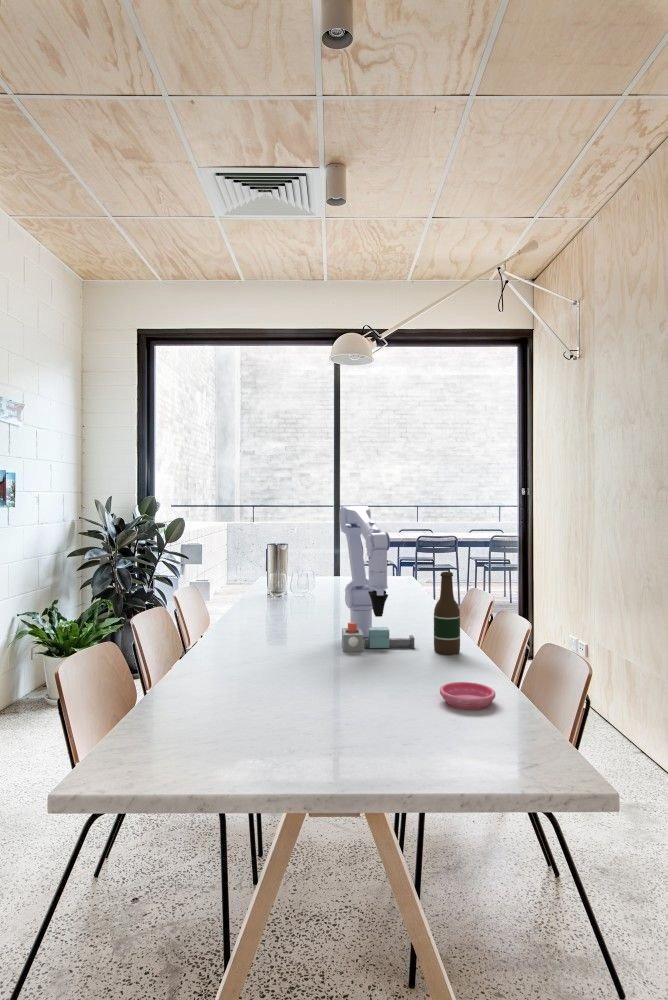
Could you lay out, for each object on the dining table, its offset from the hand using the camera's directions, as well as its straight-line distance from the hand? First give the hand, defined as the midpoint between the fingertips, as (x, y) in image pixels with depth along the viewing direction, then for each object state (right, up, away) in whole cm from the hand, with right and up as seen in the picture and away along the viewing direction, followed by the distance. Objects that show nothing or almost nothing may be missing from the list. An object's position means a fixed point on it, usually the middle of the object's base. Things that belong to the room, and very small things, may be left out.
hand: (378, 615), depth 198 cm
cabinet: (-8, -10, 0) cm, 13 cm away
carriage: (0, -10, 0) cm, 10 cm away
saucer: (+17, -11, -52) cm, 56 cm away
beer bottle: (+20, -10, -6) cm, 23 cm away
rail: (+4, -10, 0) cm, 11 cm away
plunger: (-8, -6, 0) cm, 10 cm away
